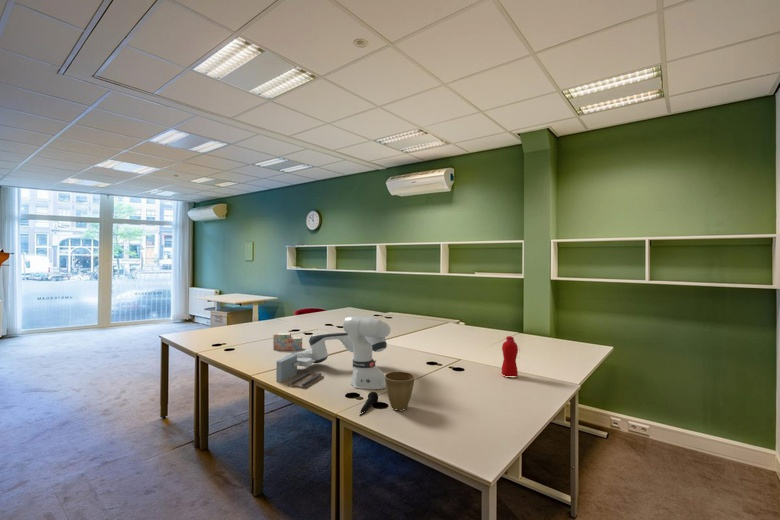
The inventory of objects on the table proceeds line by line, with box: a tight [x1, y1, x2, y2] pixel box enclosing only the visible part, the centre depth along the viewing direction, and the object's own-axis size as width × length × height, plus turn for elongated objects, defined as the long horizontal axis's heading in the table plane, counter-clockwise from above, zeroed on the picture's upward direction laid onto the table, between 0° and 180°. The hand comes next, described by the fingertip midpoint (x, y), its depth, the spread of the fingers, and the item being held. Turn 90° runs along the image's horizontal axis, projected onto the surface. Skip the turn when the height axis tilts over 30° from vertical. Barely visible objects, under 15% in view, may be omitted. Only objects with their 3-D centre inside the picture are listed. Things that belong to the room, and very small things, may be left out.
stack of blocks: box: [272, 332, 303, 351], centre depth 289 cm, size 21×6×12 cm, turn 89°
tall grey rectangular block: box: [275, 354, 298, 383], centre depth 224 cm, size 4×16×12 cm, turn 160°
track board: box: [287, 371, 325, 389], centre depth 217 cm, size 12×20×2 cm, turn 160°
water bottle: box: [501, 336, 521, 377], centre depth 230 cm, size 9×11×25 cm
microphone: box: [359, 391, 379, 414], centre depth 181 cm, size 6×6×20 cm
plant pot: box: [384, 371, 415, 411], centre depth 181 cm, size 15×15×16 cm
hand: (289, 364), depth 226 cm, fingers closed on tall grey rectangular block, 3 cm apart
